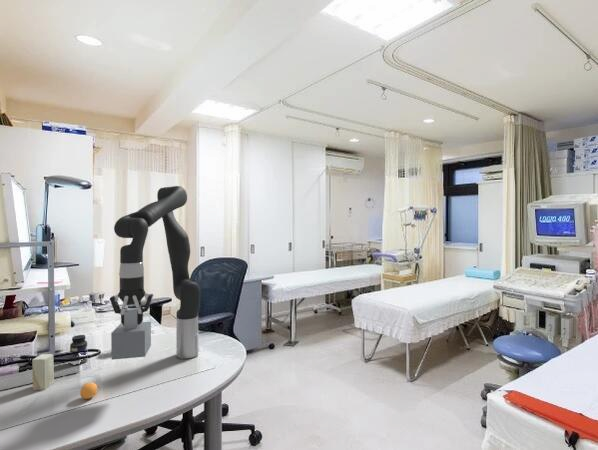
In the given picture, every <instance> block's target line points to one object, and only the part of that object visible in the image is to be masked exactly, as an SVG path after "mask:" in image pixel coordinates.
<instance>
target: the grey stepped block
mask: <svg viewBox="0 0 598 450" xmlns="http://www.w3.org/2000/svg"><path fill="white" fill-rule="evenodd" d="M151 322H152V321H142V323H141V324H139V325H138V310H137V308H136V307H134V308H127V310H126V311H125V312H124V326H123V324H122V323H119V324H118V325H117V326H116V327H115V329H114V330H112V332H111V334H110V335H111V336H110V339H111V346H110V347H111V348H110V349H111V353H110V355H111V360H114V361H115V360H123V359H136V358H145V357H146V355H147V354H148V352H149V350H150V348H151V346H152V323H151Z"/></svg>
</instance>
